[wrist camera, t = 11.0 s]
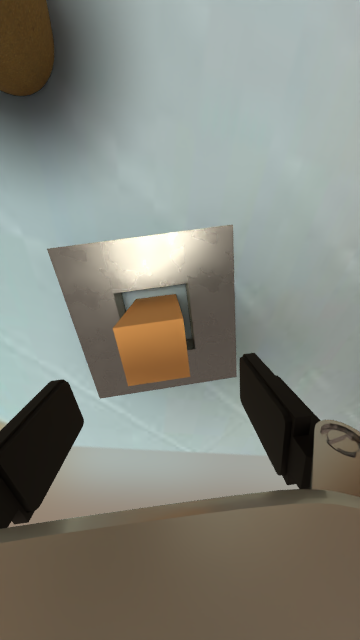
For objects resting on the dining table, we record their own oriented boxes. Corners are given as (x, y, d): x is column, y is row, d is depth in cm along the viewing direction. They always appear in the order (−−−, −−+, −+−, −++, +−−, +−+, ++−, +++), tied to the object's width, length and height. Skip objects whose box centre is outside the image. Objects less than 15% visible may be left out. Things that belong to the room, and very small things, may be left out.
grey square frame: (223, 229, 20) (232, 224, 17) (228, 364, 26) (236, 376, 23) (64, 250, 19) (47, 248, 16) (107, 382, 25) (99, 398, 22)
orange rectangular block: (175, 293, 22) (183, 318, 12) (180, 330, 23) (190, 376, 14) (136, 299, 22) (112, 328, 12) (143, 335, 23) (128, 386, 14)
